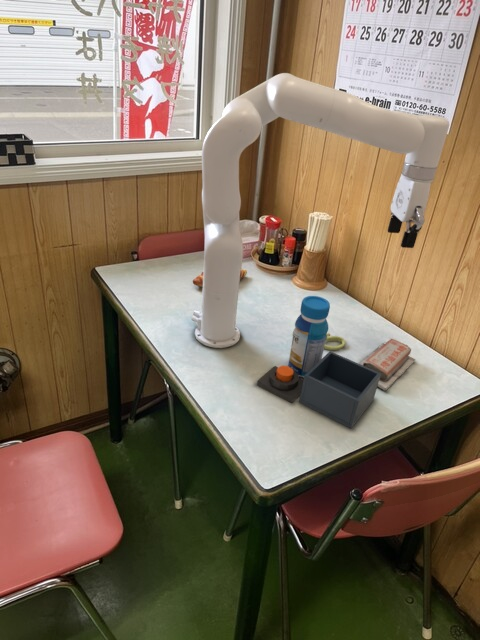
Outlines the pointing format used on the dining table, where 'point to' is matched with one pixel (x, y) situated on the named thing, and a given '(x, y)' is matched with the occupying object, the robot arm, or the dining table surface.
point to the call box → (281, 385)
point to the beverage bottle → (309, 335)
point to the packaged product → (389, 361)
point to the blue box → (339, 388)
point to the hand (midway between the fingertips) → (399, 239)
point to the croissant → (199, 279)
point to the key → (334, 338)
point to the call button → (284, 373)
